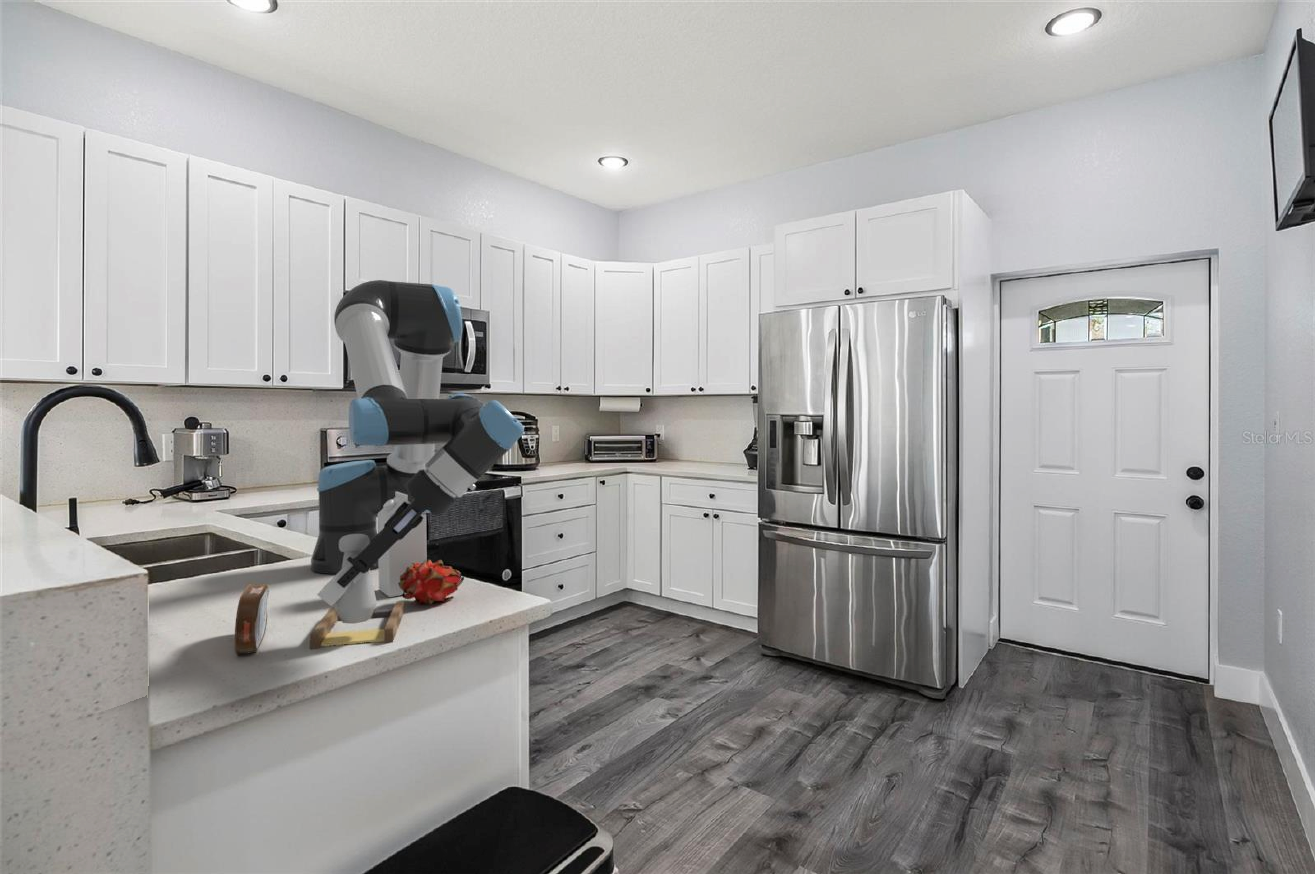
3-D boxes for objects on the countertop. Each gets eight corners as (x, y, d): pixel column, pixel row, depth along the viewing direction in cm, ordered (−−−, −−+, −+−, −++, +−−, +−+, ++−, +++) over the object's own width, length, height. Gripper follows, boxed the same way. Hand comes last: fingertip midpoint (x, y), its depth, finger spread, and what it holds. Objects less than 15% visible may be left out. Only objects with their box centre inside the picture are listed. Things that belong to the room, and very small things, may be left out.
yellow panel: (327, 635, 104) (327, 633, 104) (388, 630, 106) (388, 628, 106) (320, 646, 99) (320, 644, 99) (384, 641, 101) (384, 638, 101)
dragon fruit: (392, 615, 120) (458, 613, 126) (405, 596, 114) (474, 595, 121) (391, 571, 124) (455, 572, 131) (403, 550, 118) (470, 552, 125)
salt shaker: (360, 626, 99) (358, 539, 99) (326, 624, 100) (324, 538, 100) (384, 614, 105) (382, 532, 104) (351, 612, 106) (349, 531, 105)
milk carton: (415, 584, 135) (414, 490, 134) (427, 591, 129) (425, 493, 128) (378, 590, 130) (376, 492, 130) (389, 598, 125) (387, 496, 124)
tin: (249, 631, 107) (247, 578, 106) (271, 628, 108) (270, 576, 108) (232, 663, 93) (231, 603, 93) (258, 660, 94) (257, 600, 94)
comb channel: (331, 618, 113) (331, 606, 113) (403, 612, 116) (403, 601, 116) (310, 648, 98) (309, 635, 98) (393, 641, 101) (392, 628, 101)
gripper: (457, 506, 98) (336, 629, 94) (460, 493, 113) (356, 598, 110) (417, 471, 96) (293, 594, 93) (426, 463, 112) (319, 568, 108)
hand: (327, 596), depth 101 cm, fingers closed on salt shaker, 3 cm apart
